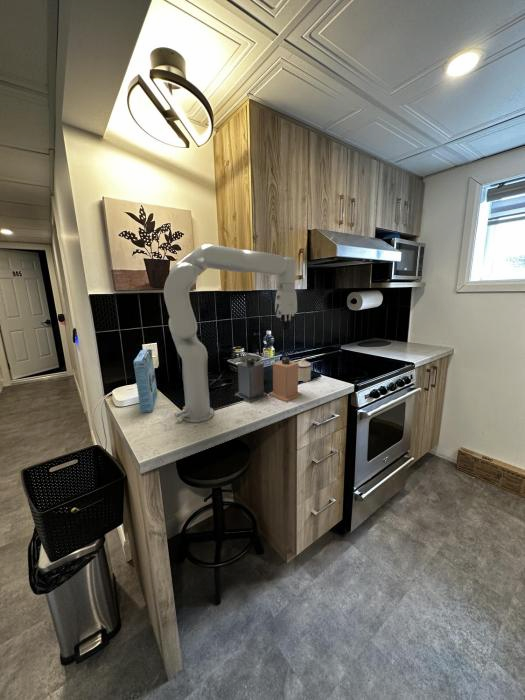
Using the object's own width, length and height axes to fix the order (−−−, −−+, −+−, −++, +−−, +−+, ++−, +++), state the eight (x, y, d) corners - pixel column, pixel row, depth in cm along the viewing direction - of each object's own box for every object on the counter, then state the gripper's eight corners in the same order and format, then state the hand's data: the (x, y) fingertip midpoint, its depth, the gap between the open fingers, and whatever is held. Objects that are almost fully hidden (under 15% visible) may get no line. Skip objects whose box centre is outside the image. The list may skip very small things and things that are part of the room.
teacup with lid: (314, 380, 148) (315, 360, 145) (300, 383, 144) (301, 362, 141) (301, 374, 159) (301, 354, 156) (288, 376, 155) (288, 357, 152)
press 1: (250, 403, 122) (249, 369, 118) (233, 395, 131) (231, 363, 127) (267, 395, 130) (267, 363, 125) (250, 388, 138) (249, 358, 134)
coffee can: (243, 379, 152) (242, 354, 148) (261, 379, 151) (261, 355, 147) (239, 386, 142) (238, 360, 138) (259, 386, 141) (259, 360, 137)
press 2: (286, 402, 122) (286, 368, 118) (266, 394, 131) (266, 362, 127) (301, 395, 130) (302, 363, 126) (282, 388, 139) (282, 357, 134)
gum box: (152, 412, 115) (146, 360, 109) (139, 413, 114) (132, 361, 108) (157, 393, 134) (152, 348, 128) (146, 395, 132) (140, 349, 126)
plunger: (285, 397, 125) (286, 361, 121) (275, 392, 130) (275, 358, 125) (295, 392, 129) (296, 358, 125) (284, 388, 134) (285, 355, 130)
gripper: (280, 288, 109) (280, 333, 114) (303, 287, 119) (302, 328, 124) (267, 287, 115) (267, 330, 119) (290, 287, 125) (290, 326, 129)
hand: (285, 329), depth 122 cm, fingers closed
